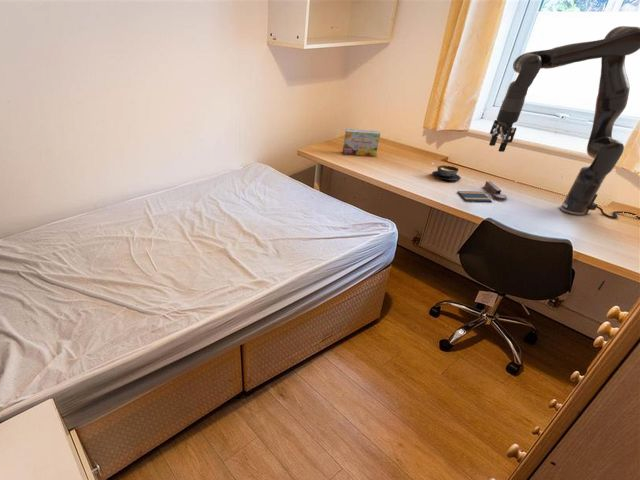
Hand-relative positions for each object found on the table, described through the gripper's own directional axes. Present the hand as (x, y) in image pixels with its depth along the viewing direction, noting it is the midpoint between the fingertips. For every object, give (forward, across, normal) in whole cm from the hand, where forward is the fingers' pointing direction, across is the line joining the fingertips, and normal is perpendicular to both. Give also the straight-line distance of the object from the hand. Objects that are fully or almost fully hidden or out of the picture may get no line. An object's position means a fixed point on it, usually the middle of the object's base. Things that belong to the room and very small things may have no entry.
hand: (496, 148), depth 165 cm
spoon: (+28, +17, -17) cm, 37 cm away
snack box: (+28, +77, +41) cm, 92 cm away
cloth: (+28, +12, -5) cm, 31 cm away
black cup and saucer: (+28, +39, 0) cm, 48 cm away
